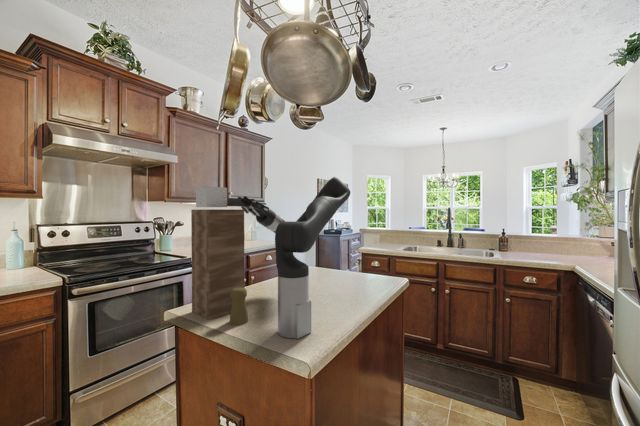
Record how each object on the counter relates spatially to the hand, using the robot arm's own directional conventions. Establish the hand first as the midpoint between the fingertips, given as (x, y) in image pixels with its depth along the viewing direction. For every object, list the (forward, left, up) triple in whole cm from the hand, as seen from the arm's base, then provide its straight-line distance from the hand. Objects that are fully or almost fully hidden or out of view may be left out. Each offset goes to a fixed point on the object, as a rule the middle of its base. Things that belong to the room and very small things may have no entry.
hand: (240, 198), depth 116 cm
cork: (-15, +12, -42) cm, 46 cm away
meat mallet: (0, +6, -3) cm, 6 cm away
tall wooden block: (0, +10, -41) cm, 43 cm away
